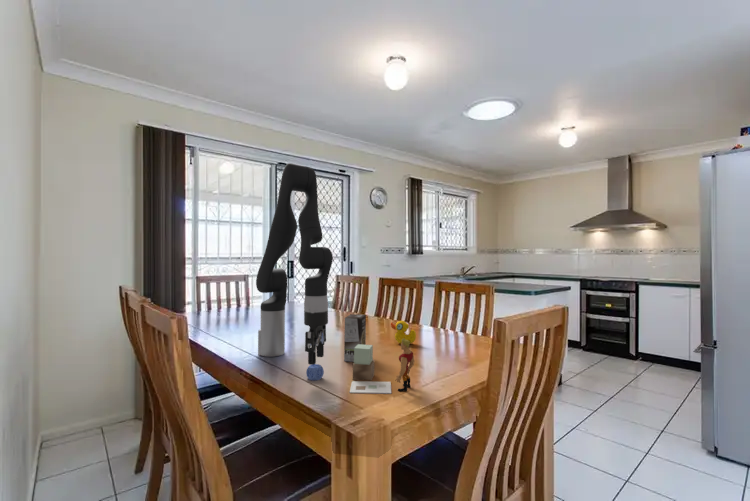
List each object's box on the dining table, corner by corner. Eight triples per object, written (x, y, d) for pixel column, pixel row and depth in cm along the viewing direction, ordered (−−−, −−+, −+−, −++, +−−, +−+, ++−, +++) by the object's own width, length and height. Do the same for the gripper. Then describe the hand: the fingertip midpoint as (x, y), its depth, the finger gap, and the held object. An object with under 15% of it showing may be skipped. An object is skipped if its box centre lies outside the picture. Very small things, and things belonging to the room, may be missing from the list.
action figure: (404, 382, 120) (404, 334, 120) (415, 384, 118) (415, 335, 118) (393, 393, 111) (393, 341, 111) (405, 395, 110) (405, 342, 110)
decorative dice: (315, 375, 126) (315, 363, 126) (323, 378, 124) (324, 365, 124) (306, 378, 123) (306, 366, 123) (314, 381, 121) (314, 368, 121)
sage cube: (353, 363, 123) (354, 348, 123) (357, 359, 128) (357, 344, 128) (369, 364, 122) (369, 349, 122) (372, 360, 127) (372, 345, 127)
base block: (352, 379, 123) (352, 364, 122) (356, 373, 128) (356, 358, 128) (371, 381, 122) (371, 365, 122) (374, 375, 128) (374, 359, 128)
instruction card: (349, 393, 111) (349, 391, 111) (352, 382, 120) (352, 381, 120) (391, 393, 111) (391, 392, 111) (390, 382, 120) (390, 381, 120)
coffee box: (360, 362, 141) (361, 318, 141) (343, 361, 142) (343, 317, 142) (366, 355, 150) (366, 314, 150) (350, 354, 151) (350, 313, 151)
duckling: (388, 344, 168) (388, 321, 168) (392, 341, 173) (392, 319, 173) (414, 346, 165) (414, 323, 164) (417, 343, 170) (417, 320, 170)
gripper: (311, 306, 131) (311, 354, 131) (296, 312, 117) (297, 366, 117) (333, 306, 130) (333, 355, 130) (320, 313, 116) (321, 367, 116)
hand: (316, 360), depth 123 cm, fingers open, 8 cm apart
